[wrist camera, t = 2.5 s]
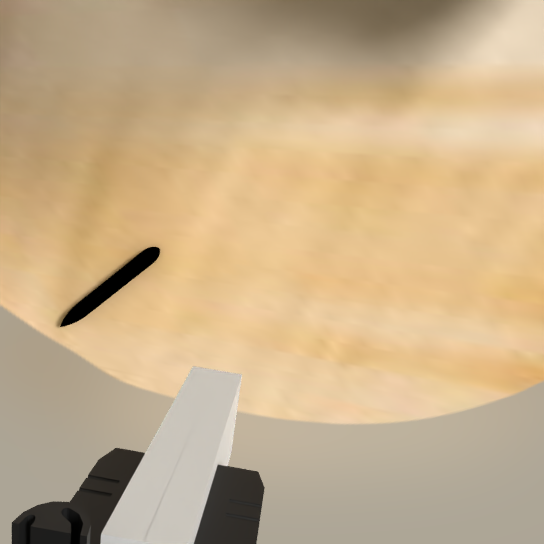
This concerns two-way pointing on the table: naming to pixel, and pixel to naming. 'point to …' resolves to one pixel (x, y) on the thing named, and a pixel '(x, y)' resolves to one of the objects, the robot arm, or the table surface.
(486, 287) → the table surface
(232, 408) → the robot arm
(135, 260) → the pen
